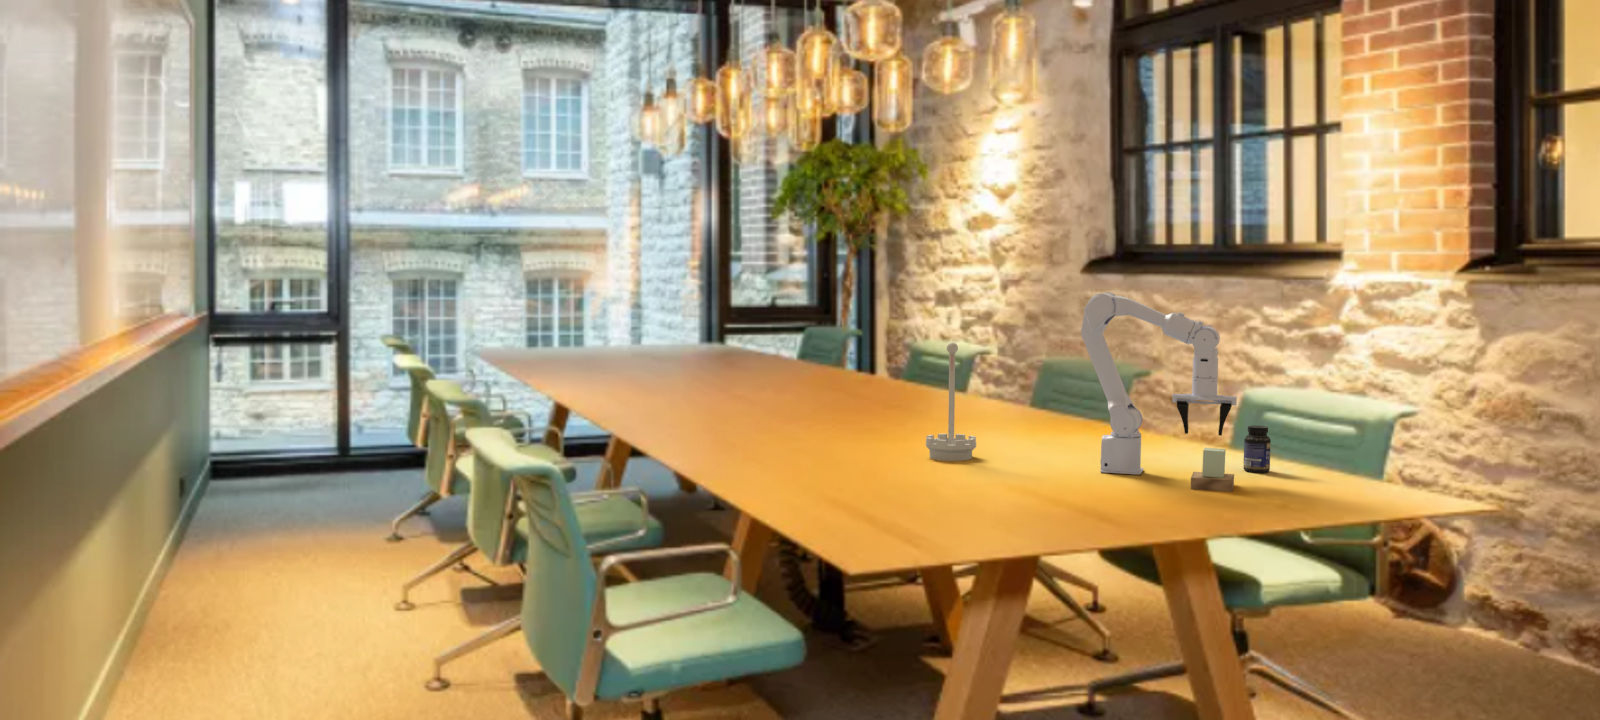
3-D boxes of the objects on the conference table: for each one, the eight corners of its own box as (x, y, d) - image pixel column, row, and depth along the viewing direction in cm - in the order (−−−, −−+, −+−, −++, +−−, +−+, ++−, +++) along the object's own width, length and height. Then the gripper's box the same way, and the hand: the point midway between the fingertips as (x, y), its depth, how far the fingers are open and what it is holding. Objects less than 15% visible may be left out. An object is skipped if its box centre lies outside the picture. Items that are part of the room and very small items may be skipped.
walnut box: (1190, 491, 295) (1190, 477, 295) (1193, 484, 304) (1193, 471, 303) (1232, 493, 292) (1232, 480, 292) (1233, 487, 301) (1234, 474, 300)
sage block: (1202, 476, 296) (1203, 450, 296) (1203, 473, 300) (1205, 447, 300) (1222, 477, 295) (1224, 451, 294) (1224, 475, 299) (1225, 449, 298)
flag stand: (926, 452, 346) (927, 340, 343) (976, 454, 344) (977, 341, 341) (924, 461, 333) (925, 344, 330) (975, 462, 331) (977, 344, 328)
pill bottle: (1271, 473, 315) (1273, 428, 314) (1245, 472, 317) (1246, 427, 316) (1267, 469, 321) (1269, 425, 320) (1241, 468, 323) (1243, 424, 322)
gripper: (1171, 377, 307) (1170, 434, 308) (1236, 380, 302) (1234, 438, 303) (1174, 374, 313) (1172, 430, 315) (1237, 377, 308) (1235, 433, 309)
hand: (1203, 434), depth 309 cm, fingers open, 7 cm apart
